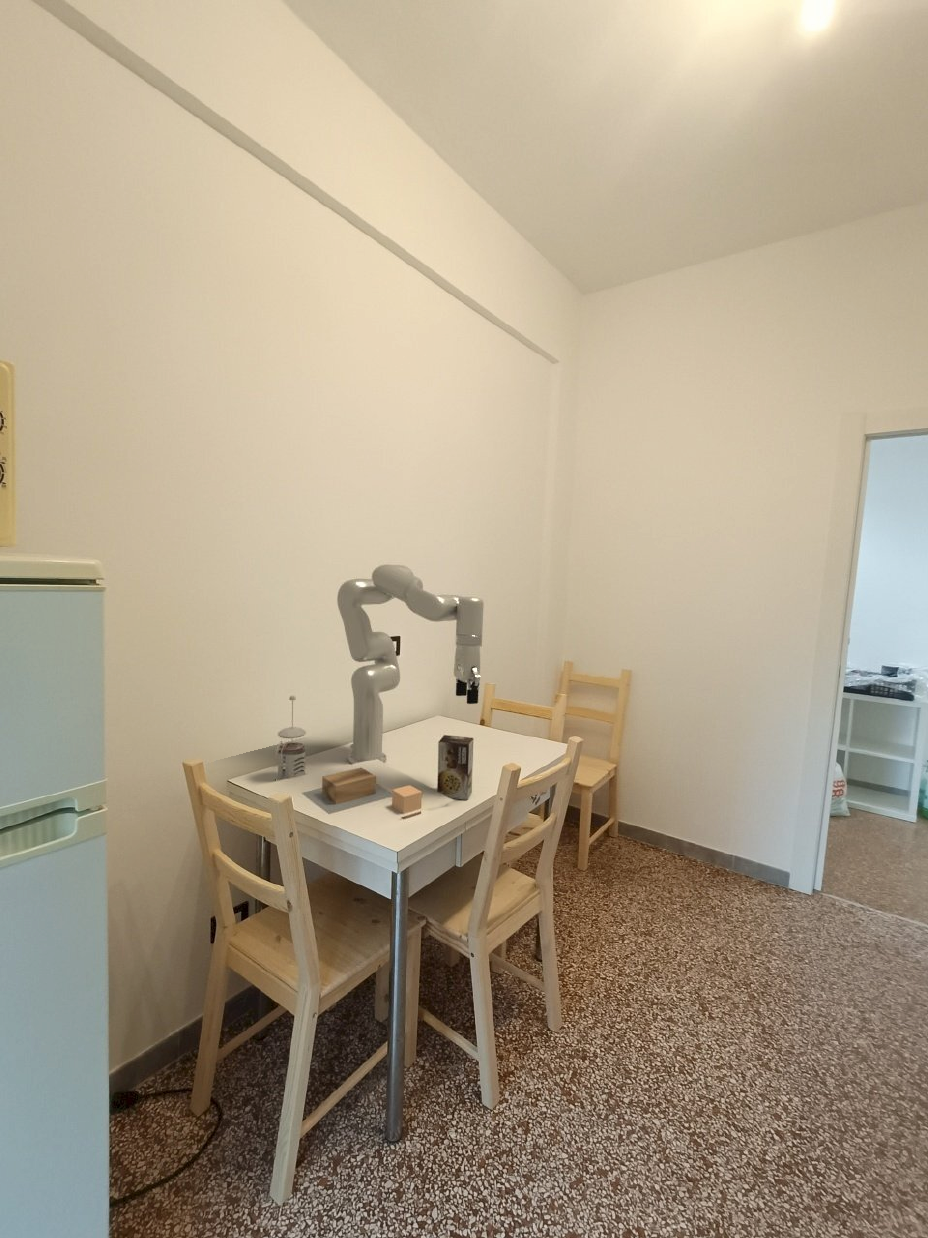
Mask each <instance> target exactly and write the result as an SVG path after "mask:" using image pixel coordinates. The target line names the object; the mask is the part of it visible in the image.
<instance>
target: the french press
mask: <svg viewBox="0 0 928 1238" xmlns="http://www.w3.org/2000/svg"><path fill="white" fill-rule="evenodd" d="M296 699H297V697H296V696H295V695H290V696H289V699H288V700H289V701H292V703H291V726H289V727H285V728H283V729H281V730H280V731H279V732H278V733H277V736H278V737H279V738H283V739H295V738H296V739H297V738H300V737H303V736H306V734H307V731H306V730H305V729H303V728H301V727H296V726H294V725H293V722H294V720H293V719H294V717H293V716H294V701H296ZM280 744H281V745H280ZM284 759H285V760H284ZM275 761H276V764H277V775H276V776H275V777H276V778H275V777H274V778H275V779H276V780H277V781H276V782H279V781H283V780H286V779H288V780H289V779H293V778H299V777H301V776H304V775H307V773H306V767H305V766H306V763H305V762H306V749H305V744H303V743H302V742H290V741H289V742H287V741H285V742H284V743H283V741H282V740H281V741H279V743H278V745H277V748H276V751H275Z"/></svg>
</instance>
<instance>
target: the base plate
mask: <svg viewBox="0 0 928 1238" xmlns="http://www.w3.org/2000/svg"><path fill="white" fill-rule="evenodd" d="M301 794H302V795H304V796H305V797H306V798H307V799H309V800H310V801H312V803H314V804H315V805H316V806H318V807H319V808H320V809H321V810H323V811H324V812H325V813H327V814H329V815H331V814H335V813H338V812H342V811H345V810H349V809H353V808H356V807H359V806H363V805H368V804H370V803H373V802H378V801H381V800H386V799H387V798H388V799H389V798H392V791H390V790H389V789H387V788H384V787H383V786H382V785H379V784H378V783H376V794H373V795H369V796H366V797H362V798H358V799H355V800H351V801H347V802H344V803H340V804H335V803H333V802H332V801H331V800H329V799H328V798H326V797H325V796H324V795H322V787H321V788H317V789H313V790H312V789H311V790H307V791H304V792H302V793H301Z"/></svg>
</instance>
